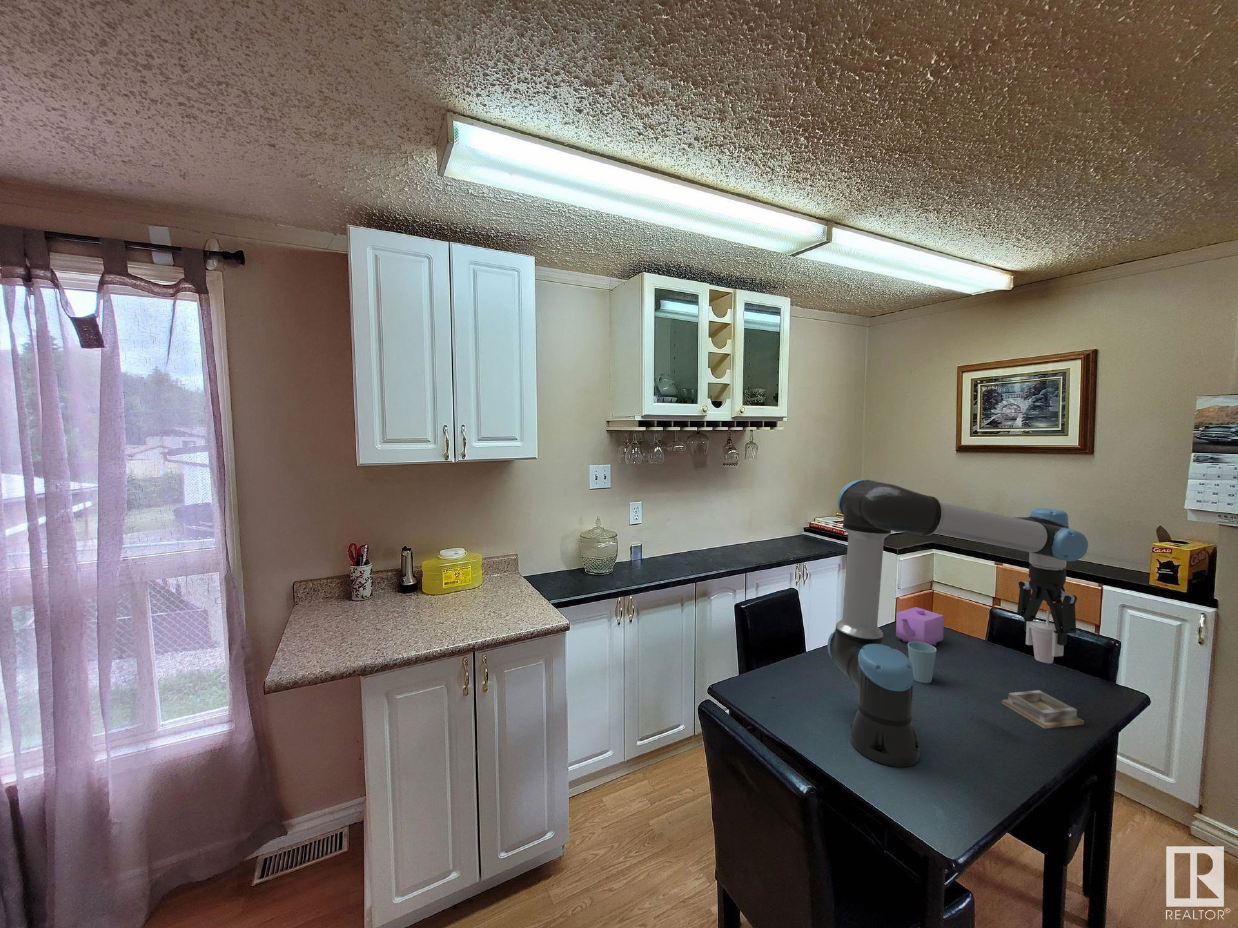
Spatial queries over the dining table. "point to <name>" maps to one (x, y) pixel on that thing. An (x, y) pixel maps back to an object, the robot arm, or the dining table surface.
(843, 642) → the robot arm
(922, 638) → the purple box
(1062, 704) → the tray
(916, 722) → the dining table surface
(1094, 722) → the dining table surface
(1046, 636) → the smoothie
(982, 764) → the dining table surface
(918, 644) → the cup
